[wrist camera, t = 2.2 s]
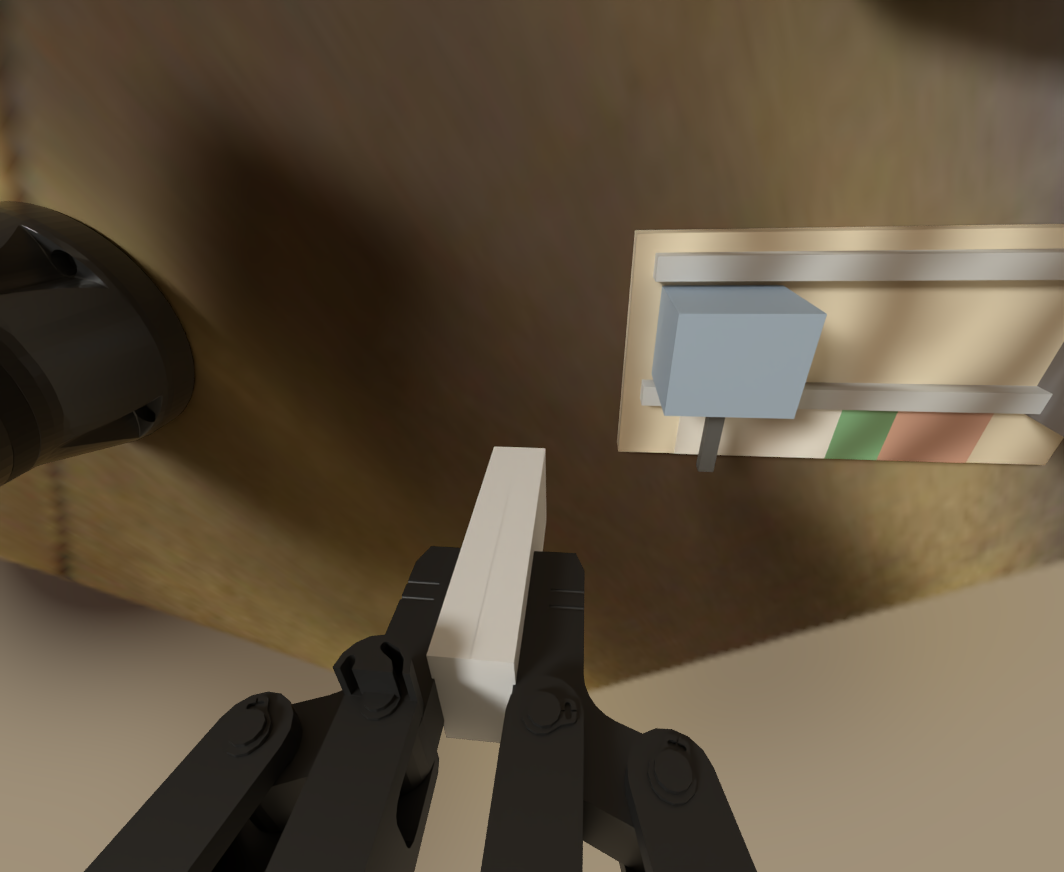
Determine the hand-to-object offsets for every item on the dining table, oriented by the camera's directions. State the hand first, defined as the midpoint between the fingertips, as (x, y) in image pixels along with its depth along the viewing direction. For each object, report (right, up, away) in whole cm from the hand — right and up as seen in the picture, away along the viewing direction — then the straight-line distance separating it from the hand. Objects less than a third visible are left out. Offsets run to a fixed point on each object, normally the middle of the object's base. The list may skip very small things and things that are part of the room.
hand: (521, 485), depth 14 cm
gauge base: (+18, +6, +12) cm, 23 cm away
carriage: (+10, +5, +12) cm, 17 cm away
